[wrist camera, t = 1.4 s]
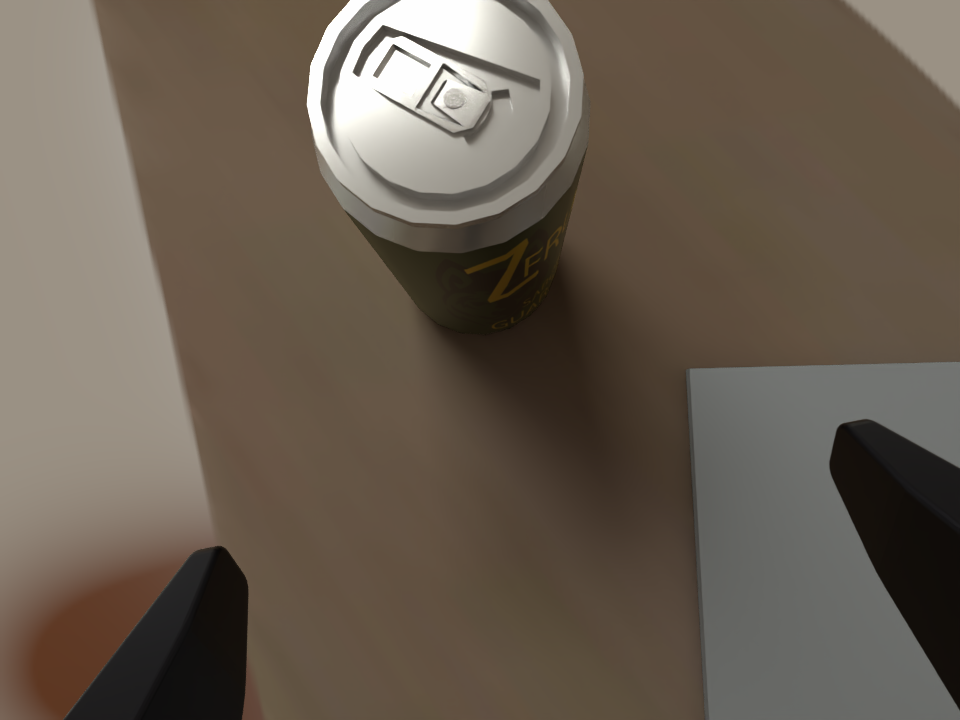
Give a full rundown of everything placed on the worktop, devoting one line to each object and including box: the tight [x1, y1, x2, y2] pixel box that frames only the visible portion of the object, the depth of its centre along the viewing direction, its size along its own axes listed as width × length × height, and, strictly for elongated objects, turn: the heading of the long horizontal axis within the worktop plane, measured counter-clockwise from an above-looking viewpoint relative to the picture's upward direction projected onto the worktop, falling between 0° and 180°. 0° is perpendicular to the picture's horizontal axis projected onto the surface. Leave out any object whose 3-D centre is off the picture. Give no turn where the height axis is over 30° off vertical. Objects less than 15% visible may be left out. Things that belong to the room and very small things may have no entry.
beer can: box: [307, 0, 590, 335], centre depth 18 cm, size 5×5×12 cm
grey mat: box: [686, 362, 960, 720], centre depth 21 cm, size 16×12×1 cm
